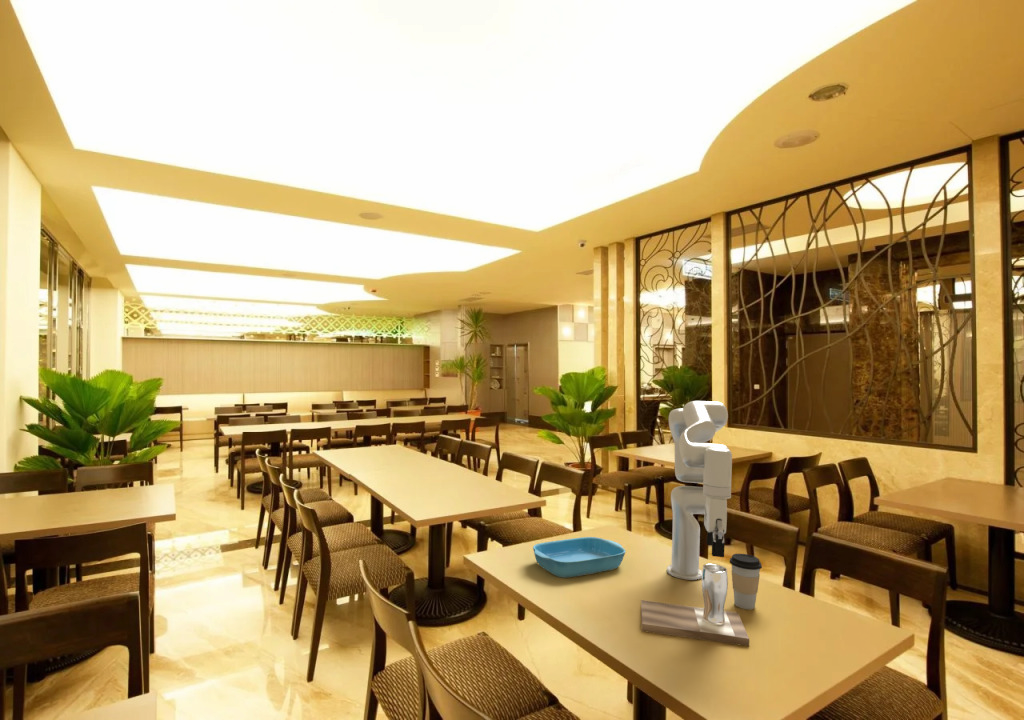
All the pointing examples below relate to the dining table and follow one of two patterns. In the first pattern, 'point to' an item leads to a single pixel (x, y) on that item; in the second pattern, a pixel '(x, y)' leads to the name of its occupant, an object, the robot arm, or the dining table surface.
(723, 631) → the cutting board
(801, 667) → the dining table surface
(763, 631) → the dining table surface
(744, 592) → the coffee cup
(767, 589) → the dining table surface
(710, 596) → the beer glass
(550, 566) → the casserole dish
